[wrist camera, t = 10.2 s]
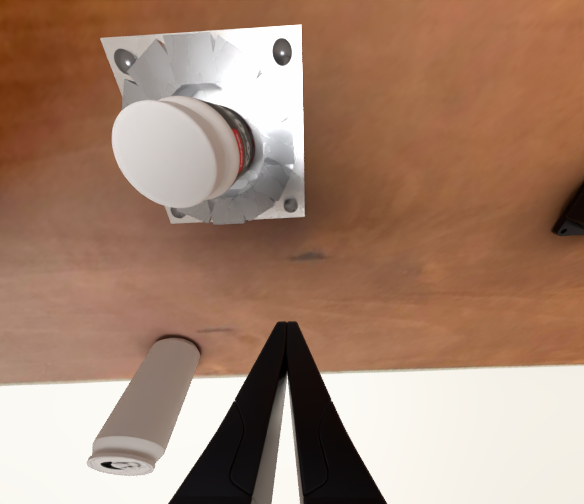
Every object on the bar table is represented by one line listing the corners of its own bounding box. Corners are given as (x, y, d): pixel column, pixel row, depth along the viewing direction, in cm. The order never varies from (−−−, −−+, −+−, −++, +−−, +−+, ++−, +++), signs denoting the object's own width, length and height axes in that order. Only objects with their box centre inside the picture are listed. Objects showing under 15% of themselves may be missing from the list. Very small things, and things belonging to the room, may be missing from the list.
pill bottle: (267, 158, 16) (250, 185, 9) (219, 188, 17) (168, 234, 10) (229, 89, 14) (165, 52, 7) (176, 129, 15) (73, 134, 8)
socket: (300, 28, 13) (303, 3, 10) (304, 214, 19) (306, 228, 16) (107, 41, 13) (60, 20, 10) (174, 220, 19) (156, 236, 17)
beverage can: (146, 336, 28) (63, 459, 18) (192, 331, 27) (134, 455, 17) (167, 363, 31) (107, 480, 21) (208, 359, 31) (168, 476, 21)
